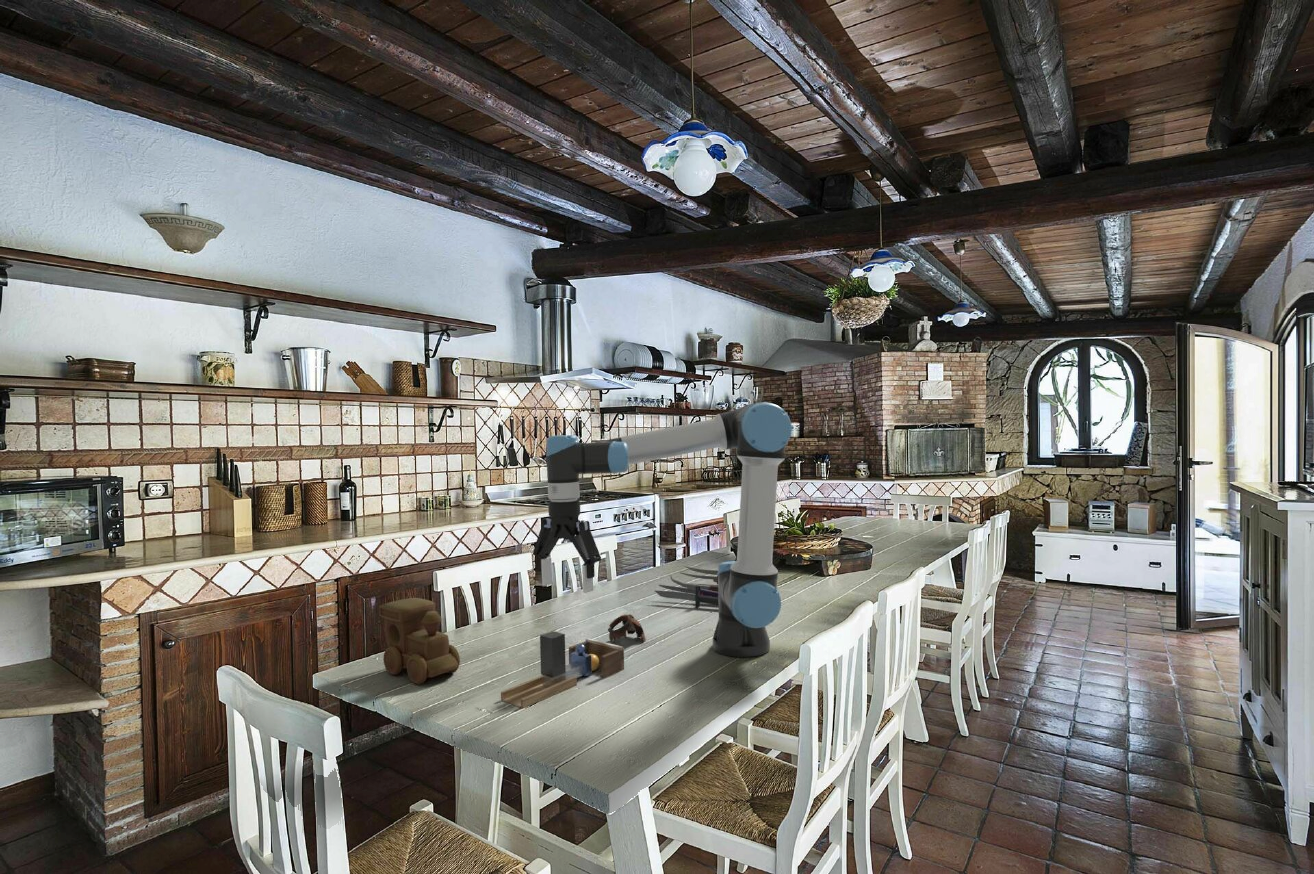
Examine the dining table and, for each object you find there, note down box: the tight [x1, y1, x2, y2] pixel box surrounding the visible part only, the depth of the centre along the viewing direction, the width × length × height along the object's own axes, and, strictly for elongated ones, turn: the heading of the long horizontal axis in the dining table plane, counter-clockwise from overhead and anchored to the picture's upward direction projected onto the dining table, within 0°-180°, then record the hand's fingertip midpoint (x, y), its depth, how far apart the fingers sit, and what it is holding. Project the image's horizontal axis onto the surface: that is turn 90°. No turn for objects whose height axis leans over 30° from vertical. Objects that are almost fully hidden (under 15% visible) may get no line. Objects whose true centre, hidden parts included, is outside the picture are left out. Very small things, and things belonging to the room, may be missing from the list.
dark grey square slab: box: [539, 631, 593, 687], centre depth 162 cm, size 5×12×12 cm, turn 142°
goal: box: [568, 637, 625, 679], centre depth 170 cm, size 12×7×6 cm, turn 52°
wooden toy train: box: [378, 597, 461, 686], centre depth 169 cm, size 20×11×17 cm, turn 52°
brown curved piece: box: [607, 613, 647, 643], centre depth 192 cm, size 12×10×8 cm
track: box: [500, 675, 578, 709], centre depth 155 cm, size 7×16×2 cm, turn 142°
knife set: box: [654, 565, 719, 609], centre depth 239 cm, size 35×33×8 cm
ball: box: [589, 654, 600, 672], centre depth 168 cm, size 4×4×4 cm
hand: (567, 588), depth 165 cm, fingers open, 13 cm apart
